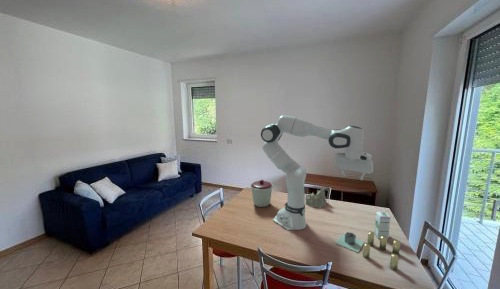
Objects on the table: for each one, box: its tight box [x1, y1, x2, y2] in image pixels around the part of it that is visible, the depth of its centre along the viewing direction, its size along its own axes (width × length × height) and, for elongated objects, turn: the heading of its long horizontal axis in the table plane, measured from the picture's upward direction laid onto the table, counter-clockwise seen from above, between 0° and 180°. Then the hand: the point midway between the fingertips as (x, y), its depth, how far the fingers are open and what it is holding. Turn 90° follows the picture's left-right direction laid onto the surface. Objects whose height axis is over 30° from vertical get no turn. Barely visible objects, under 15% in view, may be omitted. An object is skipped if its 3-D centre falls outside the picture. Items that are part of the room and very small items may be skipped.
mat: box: [335, 233, 365, 254], centre depth 121 cm, size 12×12×1 cm
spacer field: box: [362, 230, 401, 272], centre depth 110 cm, size 16×16×7 cm
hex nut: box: [344, 232, 357, 245], centre depth 120 cm, size 6×5×5 cm
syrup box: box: [374, 211, 391, 240], centre depth 125 cm, size 6×6×14 cm
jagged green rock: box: [304, 188, 327, 209], centre depth 170 cm, size 16×16×15 cm
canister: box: [250, 179, 274, 208], centre depth 169 cm, size 18×18×21 cm
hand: (352, 177), depth 120 cm, fingers open, 8 cm apart
